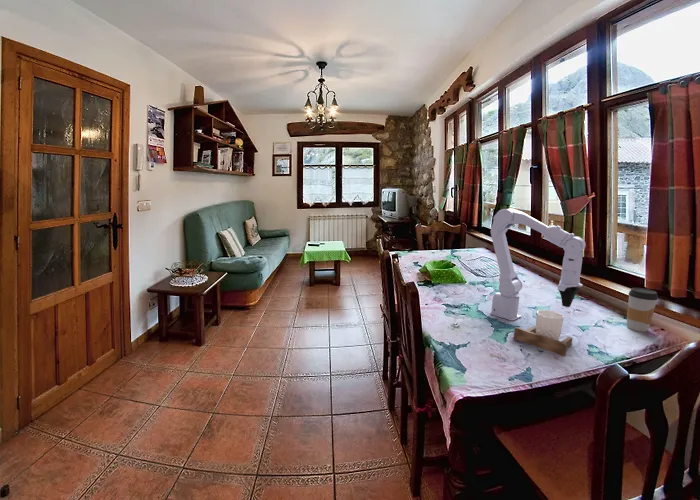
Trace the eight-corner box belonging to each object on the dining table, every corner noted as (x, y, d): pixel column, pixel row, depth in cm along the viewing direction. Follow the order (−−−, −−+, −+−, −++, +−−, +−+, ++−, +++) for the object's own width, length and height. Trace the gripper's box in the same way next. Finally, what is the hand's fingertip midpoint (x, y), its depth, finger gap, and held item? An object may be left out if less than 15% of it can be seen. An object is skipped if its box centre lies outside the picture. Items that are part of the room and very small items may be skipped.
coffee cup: (645, 334, 122) (652, 295, 119) (618, 326, 129) (624, 289, 126) (655, 330, 126) (663, 292, 123) (629, 322, 133) (635, 286, 130)
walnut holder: (513, 338, 117) (514, 327, 116) (528, 330, 124) (529, 320, 123) (564, 356, 105) (565, 344, 104) (577, 346, 112) (579, 335, 111)
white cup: (535, 334, 121) (538, 308, 119) (560, 340, 116) (564, 313, 114) (532, 342, 114) (535, 314, 112) (559, 349, 110) (563, 320, 108)
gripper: (575, 275, 113) (570, 313, 116) (591, 269, 122) (586, 305, 124) (553, 271, 119) (548, 307, 121) (569, 266, 127) (565, 300, 130)
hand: (566, 306), depth 123 cm, fingers closed
